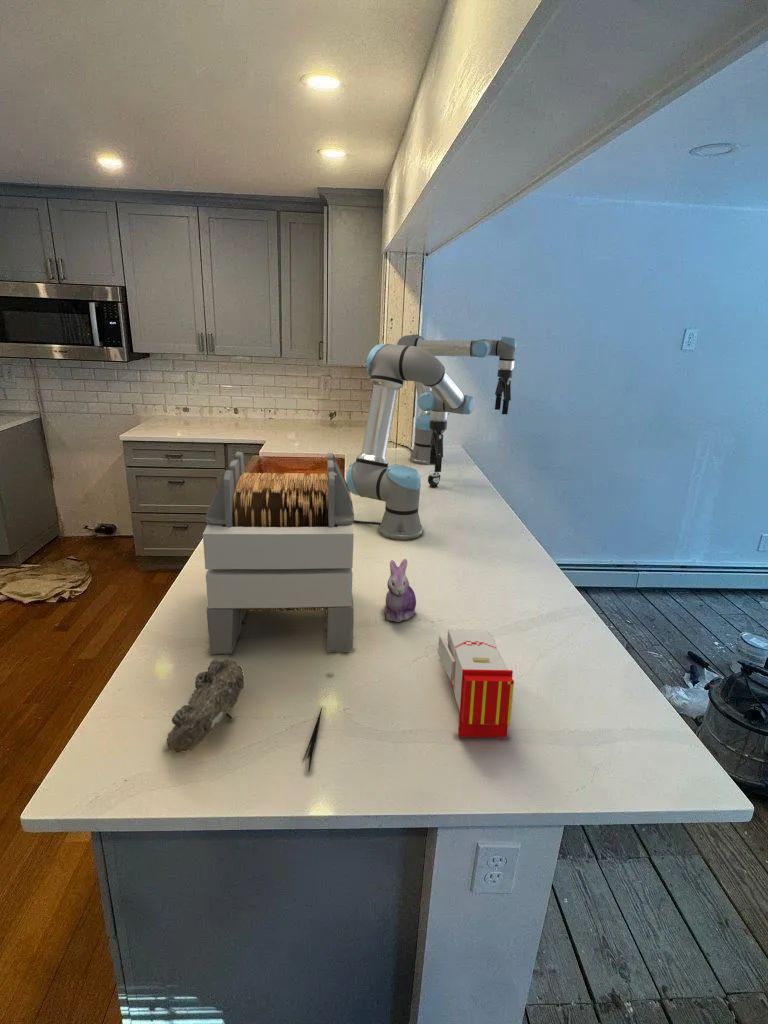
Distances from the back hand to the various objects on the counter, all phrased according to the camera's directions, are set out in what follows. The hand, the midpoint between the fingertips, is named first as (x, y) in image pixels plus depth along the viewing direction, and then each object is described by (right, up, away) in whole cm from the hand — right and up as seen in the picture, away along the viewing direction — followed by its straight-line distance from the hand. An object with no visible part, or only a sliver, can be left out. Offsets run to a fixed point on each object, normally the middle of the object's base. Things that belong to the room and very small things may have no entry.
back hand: (500, 411), depth 289 cm
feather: (-72, -91, -180) cm, 214 cm away
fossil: (-92, -90, -181) cm, 222 cm away
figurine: (-56, -78, -141) cm, 171 cm away
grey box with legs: (-85, -78, -145) cm, 185 cm away
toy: (-42, -89, -170) cm, 196 cm away
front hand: (-37, -31, -37) cm, 61 cm away
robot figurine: (-37, -40, -34) cm, 64 cm away
